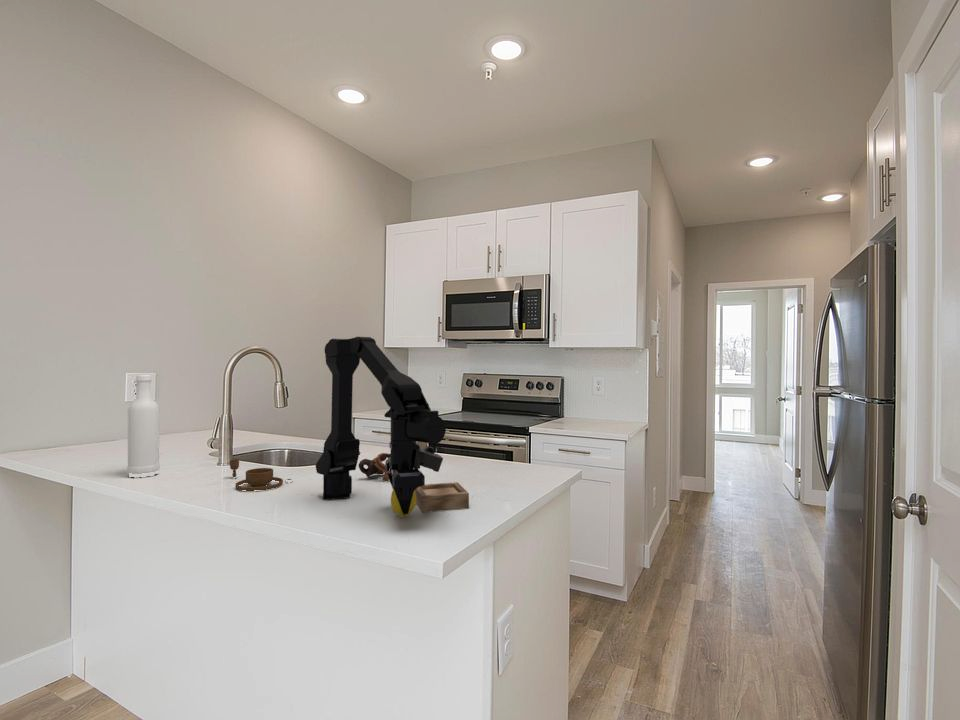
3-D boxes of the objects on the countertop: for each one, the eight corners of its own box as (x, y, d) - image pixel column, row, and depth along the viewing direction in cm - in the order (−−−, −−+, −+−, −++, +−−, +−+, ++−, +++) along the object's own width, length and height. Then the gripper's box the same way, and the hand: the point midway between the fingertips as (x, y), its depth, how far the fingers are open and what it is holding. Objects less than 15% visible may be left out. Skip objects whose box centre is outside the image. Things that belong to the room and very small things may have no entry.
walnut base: (422, 512, 114) (422, 496, 114) (414, 499, 124) (414, 485, 124) (468, 508, 117) (468, 493, 117) (457, 495, 128) (457, 482, 128)
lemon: (392, 513, 113) (392, 478, 113) (416, 513, 113) (416, 477, 113) (389, 521, 107) (389, 484, 107) (415, 521, 108) (415, 483, 108)
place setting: (220, 497, 128) (220, 474, 128) (227, 479, 147) (227, 459, 147) (293, 490, 135) (293, 468, 135) (291, 474, 154) (291, 455, 154)
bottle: (122, 479, 145) (122, 375, 145) (134, 473, 153) (134, 374, 153) (153, 477, 147) (153, 375, 147) (163, 471, 155) (163, 374, 155)
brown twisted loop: (391, 474, 154) (400, 453, 151) (395, 495, 146) (406, 472, 143) (352, 468, 149) (362, 445, 146) (355, 489, 141) (365, 465, 138)
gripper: (449, 444, 104) (449, 519, 104) (431, 431, 121) (431, 496, 121) (394, 446, 100) (394, 524, 100) (385, 433, 118) (385, 499, 118)
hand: (403, 510), depth 110 cm, fingers closed on lemon, 5 cm apart
